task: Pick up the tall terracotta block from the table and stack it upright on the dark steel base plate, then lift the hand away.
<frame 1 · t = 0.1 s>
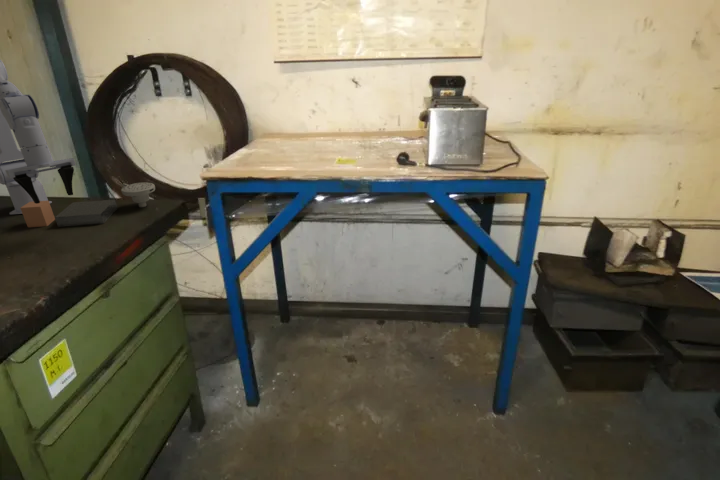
hand: (54, 198, 110), 11 cm above the workbench, tool pointing down, fingers open, 7 cm apart
showerhead: (142, 206, 134), on the workbench
steel base: (89, 217, 126), on the workbench
terracotta block: (41, 223, 122), on the workbench
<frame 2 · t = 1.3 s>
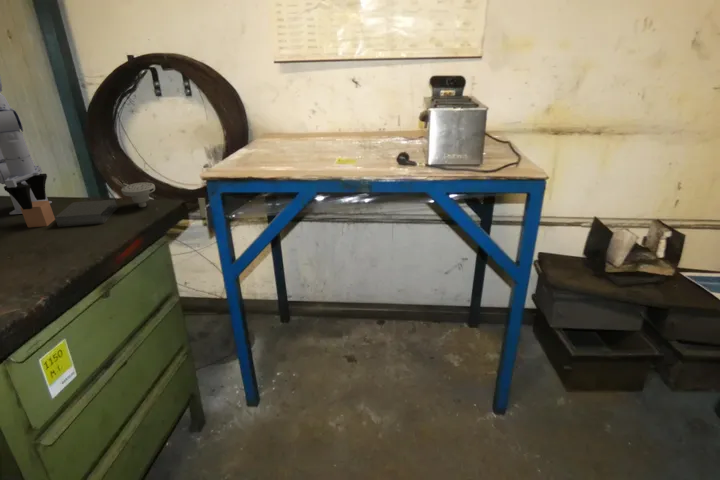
hand: (34, 204, 120), 6 cm above the workbench, tool pointing down, fingers open, 7 cm apart
nothing on the workbench moved.
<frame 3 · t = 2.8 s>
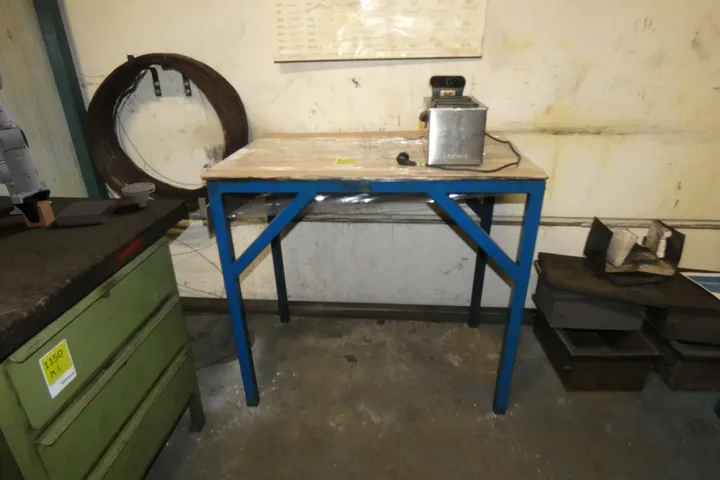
hand: (40, 218, 122), 1 cm above the workbench, tool pointing down, fingers closed on terracotta block, 5 cm apart
terracotta block: (41, 223, 122), on the workbench, touching gripper
everything else where it was.
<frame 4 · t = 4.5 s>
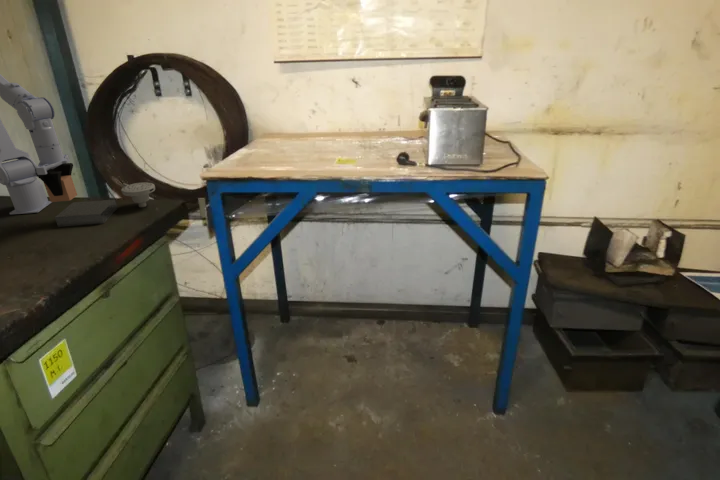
hand: (63, 192, 121), 9 cm above the workbench, tool pointing down, fingers closed on terracotta block, 5 cm apart
terracotta block: (64, 198, 122), point 7 cm above the workbench, touching gripper
everything else where it was.
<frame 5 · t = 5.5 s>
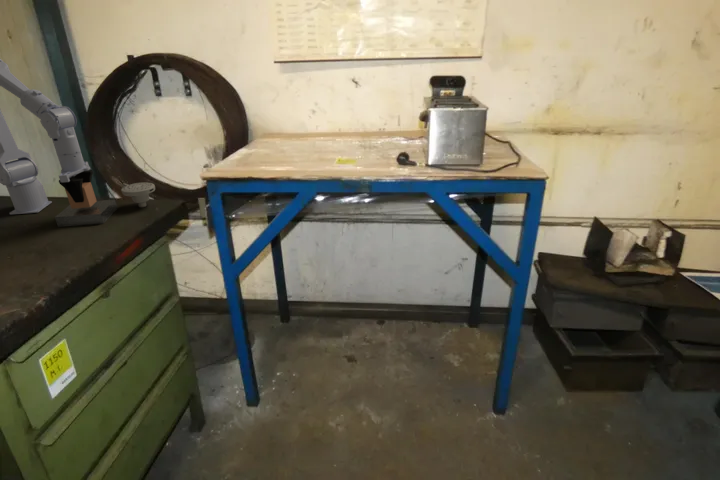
hand: (83, 198, 123), 6 cm above the workbench, tool pointing down, fingers closed on terracotta block, 5 cm apart
terracotta block: (84, 204, 124), point 4 cm above the workbench, touching gripper
everything else where it was.
when the fingers open (6 cm above the workbench, at t = 6.2 s): terracotta block stays where it is, resting on steel base.
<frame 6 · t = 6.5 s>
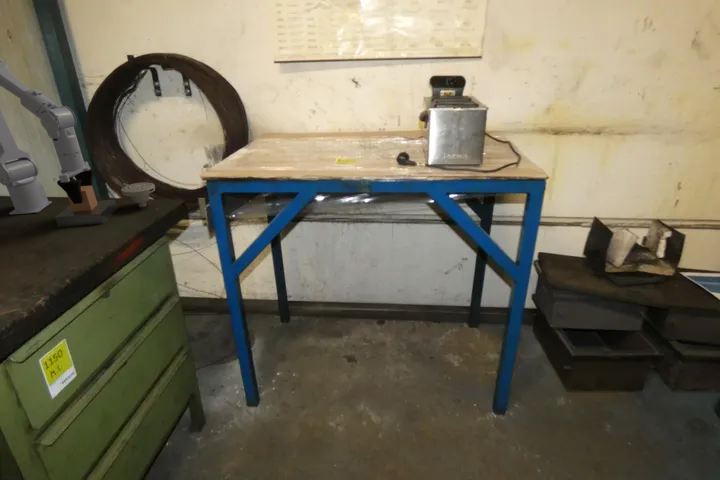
hand: (83, 198, 123), 6 cm above the workbench, tool pointing down, fingers open, 7 cm apart
terracotta block: (85, 208, 125), point 3 cm above the workbench, touching steel base
everything else where it was.
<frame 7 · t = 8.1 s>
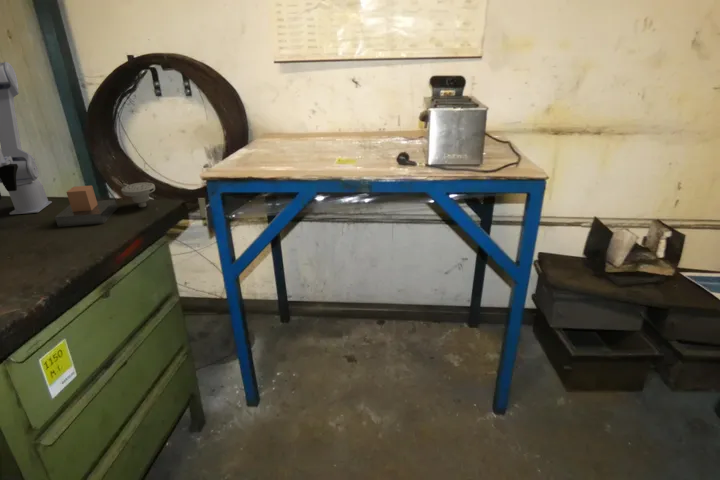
hand: (4, 195, 116), 9 cm above the workbench, tool pointing down, fingers open, 7 cm apart
nothing on the workbench moved.
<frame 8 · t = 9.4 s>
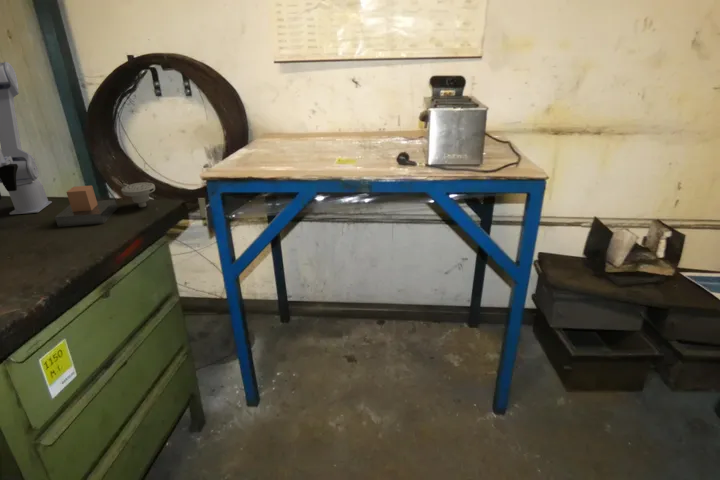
hand: (4, 195, 116), 9 cm above the workbench, tool pointing down, fingers open, 7 cm apart
nothing on the workbench moved.
at the end: terracotta block inside the target area on the steel base (0.2 cm from its centre), point 3.0 cm above the steel base's base; terracotta block tilted 0°; the gripper is holding nothing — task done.
